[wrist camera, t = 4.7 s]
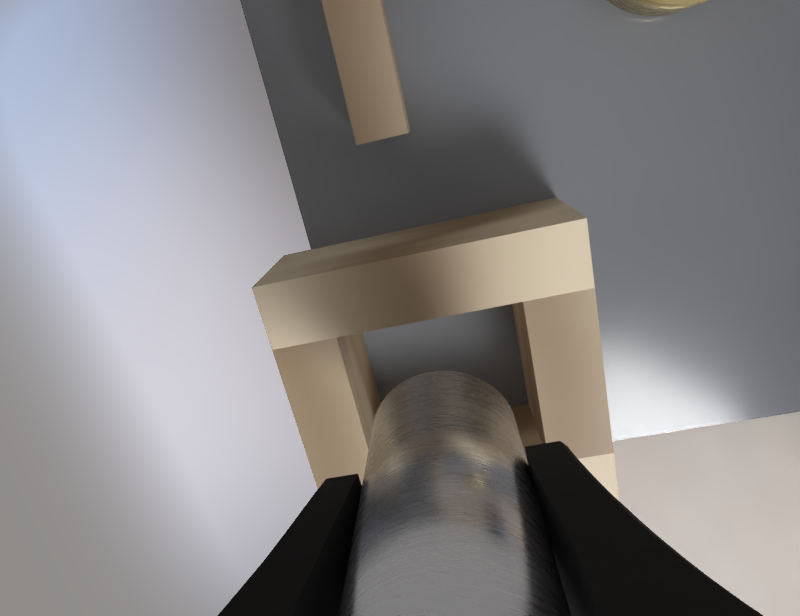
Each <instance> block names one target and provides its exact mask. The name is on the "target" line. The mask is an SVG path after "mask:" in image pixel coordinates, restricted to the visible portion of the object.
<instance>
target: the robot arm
mask: <svg viewBox="0 0 800 616" xmlns="http://www.w3.org/2000/svg"><path fill="white" fill-rule="evenodd" d="M525 450H526V456H527V461H528V467H529V470H530V474H531V477H532V481H533V484H534V488H535V491H536V495H537V498H538V502H539V505H540V508H541V511H542V515H543V518H544V522H545V525H546V529H547V532H548V536H549V539H550V543H551V546H552V550H553V553H554V557H555V560H556V564H557V567H558V571H559V574H560V578H561V581H562V585H563V588H564V592H565V596H566V599H567V603H568V606H569V610H570V613H571V616H763V615H762V614H760V613H759V612H757V611H756V610H754V609H753V608H751V607H750V606H748V605H747V604H745V603H744V602H742V601H741V600H740V599H738V598H737V597H736V596H734V595H733V594H731V593H730V592H729V591H727V590H726V589H724V588H723V587H722V586H720V585H719V584H717V583H716V582H715V581H713V580H712V579H711V578H709V577H708V576H707V575H705V574H704V573H703V572H701V571H700V570H699V569H698V568H696V567H695V566H694V565H692V564H691V563H690V562H689V561H687V560H686V559H685V558H684V557H682V556H681V555H680V554H679V553H677V552H676V551H675V550H674V549H673V548H671V547H670V546H669V545H668V544H667V543H665V542H664V541H663V540H662V539H661V538H659V537H658V536H657V535H656V534H655V533H653V532H652V531H651V530H650V529H649V528H648V527H647V526H645V525H644V524H643V523H642V522H641V521H640V520H639V519H638V518H637V517H636V516H634V515H633V514H632V513H631V512H630V511H629V510H628V509H627V508H626V507H625V506H624V505H623V504H622V503H620V502H619V501H618V500H617V499H616V498H615V497H614V496H613V495H612V494H611V493H610V492H609V491H608V490H607V489H606V488H605V487H604V486H603V485H602V484H601V483H600V482H599V481H598V480H597V479H596V478H595V477H594V476H593V475H592V474H591V473H590V472H589V470H588V469H587V468H586V467H585V466H584V465H583V464H582V463H581V462H580V461H579V459H578V458H577V457H576V456H575V455H574V454H573V452H572V451H571V450H570V449H569V447H568V446H567V445H565V444H564V443H562V442H561V441H556V442H550V443H543V444H537V445H531V446H525ZM361 489H362V485H361V482H360V478H359V475H358V474H352V475H346V476H340V477H333V478H327V479H326V480H325V481H324V482H323V483H322V485H321V486H320V487H319V489H318V490H317V491H316V493H315V494H314V495H313V497H312V498H311V499H310V501H309V502H308V503H307V505H306V506H305V507H304V509H303V510H302V511H301V513H300V514H299V516H298V517H297V518H296V519H295V521H294V522H293V524H292V525H291V526H290V527H289V529H288V530H287V532H286V533H285V534H284V536H283V537H282V538H281V539H280V541H279V542H278V543H277V545H276V546H275V547H274V549H273V550H272V551H271V552H270V554H269V555H268V556H267V558H266V559H265V560H264V562H263V563H262V564H261V565H260V566H259V567H258V569H257V570H256V571H255V572H254V573H253V575H252V576H251V577H250V578H249V579H248V580H247V582H246V583H245V584H244V585H243V586H242V588H241V589H240V590H239V591H238V593H237V594H236V595H235V596H234V597H233V598H232V599H231V601H230V602H229V603H228V604H227V605H226V607H225V608H224V609H223V610H222V611H221V612H220V613H219V615H218V616H339V611H340V605H341V600H342V594H343V589H344V583H345V578H346V572H347V567H348V561H349V555H350V550H351V544H352V539H353V533H354V528H355V522H356V517H357V511H358V505H359V500H360V494H361Z"/></svg>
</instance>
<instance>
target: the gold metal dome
mask: <svg viewBox="0 0 800 616" xmlns="http://www.w3.org/2000/svg"><path fill="white" fill-rule="evenodd" d="M607 1H608V2H609V3H611V4H613V5H614V6H616V7H617V8H619V9H621V10H624V11H626V12H628V13H632V14H636V15H641V16H664V15H670V14H674V13H677V12H680V11H683V10H686V9H689V8H691V7H694V6H696V5H699V4H701V3H704V2H706V1H709V0H607Z"/></svg>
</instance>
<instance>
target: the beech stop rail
mask: <svg viewBox="0 0 800 616" xmlns="http://www.w3.org/2000/svg"><path fill="white" fill-rule="evenodd" d="M321 1H322V5H323V9H324V13H325V18H326V22H327V26H328V30H329V34H330V38H331V42H332V46H333V51H334V55H335V59H336V63H337V67H338V71H339V75H340V80H341V84H342V88H343V92H344V96H345V100H346V104H347V109H348V113H349V117H350V121H351V125H352V129H353V133H354V138H355V142H356V145H360V144H364V143H368V142H372V141H377V140H381V139H385V138H389V137H394V136H398V135H402V134H406V133H409V132H410V131H411V129H410V124H409V119H408V114H407V109H406V105H405V100H404V95H403V90H402V85H401V81H400V76H399V71H398V66H397V61H396V57H395V52H394V47H393V42H392V38H391V33H390V28H389V23H388V18H387V14H386V9H385V4H384V0H321Z"/></svg>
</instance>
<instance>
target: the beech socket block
mask: <svg viewBox="0 0 800 616" xmlns="http://www.w3.org/2000/svg"><path fill="white" fill-rule="evenodd" d="M252 289H253V292H254V295H255V298H256V301H257V304H258V308H259V311H260V314H261V317H262V320H263V323H264V326H265V329H266V332H267V335H268V338H269V341H270V344H271V347H272V350H273V353H274V356H275V359H276V362H277V365H278V369H279V371H280V375H281V378H282V381H283V384H284V387H285V390H286V393H287V396H288V399H289V402H290V405H291V408H292V411H293V414H294V417H295V420H296V423H297V426H298V429H299V433H300V436H301V438H302V442H303V444H304V448H305V451H306V454H307V457H308V460H309V463H310V466H311V469H312V472H313V475H314V478H315V481H316V484H317V487H318V489H319V487H320V486H321V485H322V483H323V482H324V481H325V480H326V479H327V478H333V477H340V476H346V475H352V474H358V475H359V478H360V482H361V485H362V483H363V478H364V472H365V467H366V461H367V455H368V450H369V444H370V439H371V433H372V428H373V423H374V418H375V415H376V413H377V410H378V408H379V406H380V404H381V400H380V396H379V393H378V389H377V385H376V381H375V378H374V374H373V370H372V366H371V363H370V359H369V355H368V351H367V348H366V344H365V340H364V336H363V332H369V331H374V330H379V329H384V328H389V327H395V326H400V325H405V324H410V323H415V322H421V321H426V320H431V319H436V318H441V317H447V316H452V315H457V314H462V313H467V312H472V311H478V310H483V309H488V308H493V307H498V306H504V305H509V304H512V308H513V314H514V319H515V325H516V331H517V337H518V343H519V349H520V355H521V361H522V367H523V373H524V379H525V385H526V391H527V397H528V403H529V404H523V405H517V406H512V407H511V409H512V412H513V414H514V417H515V420H516V424H517V427H518V431H519V434H520V438H521V441H522V445H523V448H524V452H525V455H526V450H525V446H531V445H537V444H543V443H550V442H556V441H561V442H562V443H564V444H565V445H567V446H568V447H569V449H570V450H571V451H572V452H573V454H574V455H575V456H576V457H577V458H578V459H579V461H580V462H581V463H582V464H583V465H584V466H585V467H586V468H587V469H588V470H589V472H590V473H591V474H592V475H593V476H594V477H595V478H596V479H597V480H598V481H599V482H600V483H601V484H602V485H603V486H604V487H605V488H606V489H607V490H608V491H609V492H610V493H611V494H612V495H613V496H614V497H615V498H616V499H617V500H618V501H619V495H618V486H617V477H616V468H615V460H614V451H613V442H612V433H611V425H610V416H609V407H608V398H607V390H606V381H605V372H604V363H603V355H602V346H601V337H600V328H599V320H598V311H597V302H596V293H595V285H594V276H593V267H592V258H591V250H590V241H589V232H588V223H587V218H586V217H585V216H583V215H582V214H580V213H579V212H577V211H576V210H574V209H573V208H571V207H570V206H568V205H567V204H565V203H564V202H562V201H561V200H559V199H558V198H556V197H555V198H551V199H546V200H541V201H537V202H532V203H527V204H523V205H518V206H513V207H509V208H504V209H499V210H495V211H490V212H485V213H481V214H476V215H471V216H466V217H462V218H457V219H452V220H448V221H443V222H438V223H434V224H429V225H424V226H420V227H415V228H410V229H406V230H401V231H396V232H392V233H387V234H382V235H378V236H373V237H368V238H364V239H359V240H354V241H349V242H345V243H340V244H335V245H331V246H326V247H321V248H317V249H312V250H308V251H303V252H298V253H293V254H289V255H284V256H283V257H282V258H281V259H280V260H279V261H278V262H277V263H276V264H275V265H274V266H273V267H272V268H271V269H270V270H269V271H268V272H267V273H266V274H265V275H264V276H263V277H262V278H261V279H260V280H259V281H258V282H257V283H256V284H255V285H254V286H253V287H252ZM526 459H527V456H526ZM527 462H528V461H527Z"/></svg>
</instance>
